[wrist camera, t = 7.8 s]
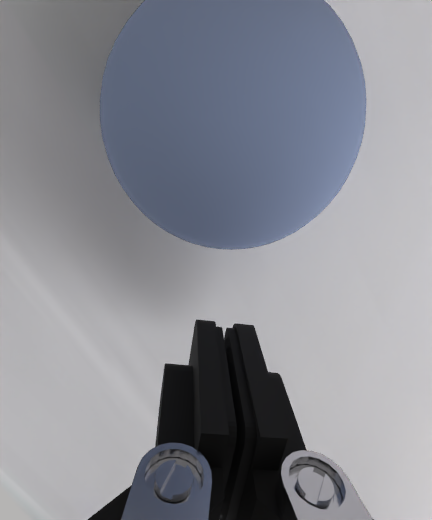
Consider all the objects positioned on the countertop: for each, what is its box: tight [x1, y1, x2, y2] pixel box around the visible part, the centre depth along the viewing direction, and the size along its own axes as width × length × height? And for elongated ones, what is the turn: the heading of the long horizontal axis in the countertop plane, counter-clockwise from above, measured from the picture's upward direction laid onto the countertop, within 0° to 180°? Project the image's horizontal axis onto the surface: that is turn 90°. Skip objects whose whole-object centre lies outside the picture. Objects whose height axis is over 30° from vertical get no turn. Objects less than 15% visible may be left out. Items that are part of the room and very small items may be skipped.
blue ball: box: [100, 0, 366, 249], centre depth 8 cm, size 6×6×6 cm
